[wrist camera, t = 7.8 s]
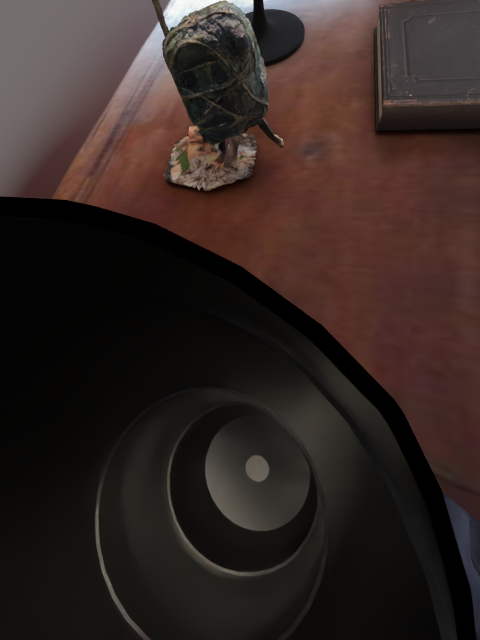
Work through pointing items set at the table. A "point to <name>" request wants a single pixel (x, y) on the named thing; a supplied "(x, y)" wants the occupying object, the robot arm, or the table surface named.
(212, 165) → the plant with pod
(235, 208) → the table surface
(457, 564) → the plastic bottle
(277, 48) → the wine glass
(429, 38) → the hardcover book
